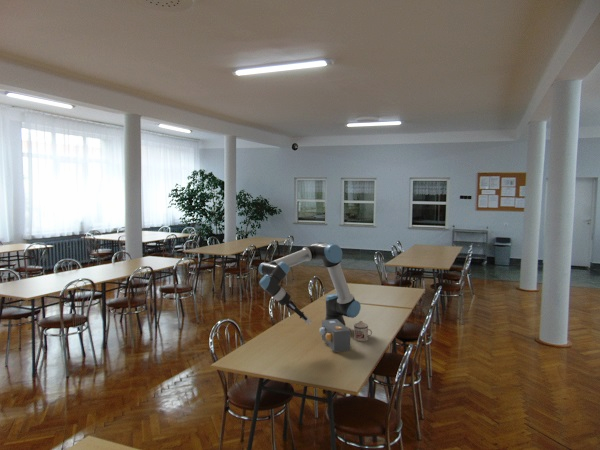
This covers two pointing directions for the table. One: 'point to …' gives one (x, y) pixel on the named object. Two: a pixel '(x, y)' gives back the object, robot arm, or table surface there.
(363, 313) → the table surface
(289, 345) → the table surface
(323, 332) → the pale blue button
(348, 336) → the button console
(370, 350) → the table surface
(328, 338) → the orange button
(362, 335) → the teacup with lid
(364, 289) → the table surface
